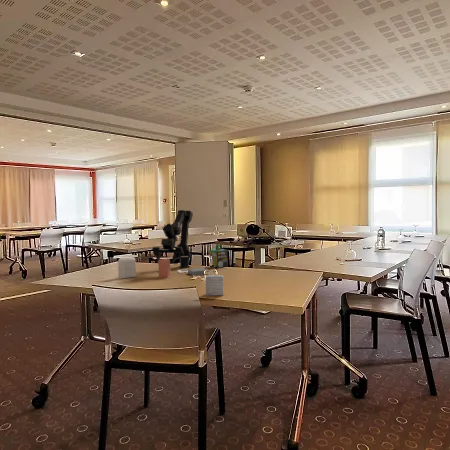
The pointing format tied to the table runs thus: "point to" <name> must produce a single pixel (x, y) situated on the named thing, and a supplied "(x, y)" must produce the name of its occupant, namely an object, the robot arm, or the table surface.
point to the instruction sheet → (182, 271)
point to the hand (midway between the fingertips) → (164, 262)
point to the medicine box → (214, 285)
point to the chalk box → (219, 257)
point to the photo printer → (127, 267)
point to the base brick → (196, 271)
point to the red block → (164, 267)
